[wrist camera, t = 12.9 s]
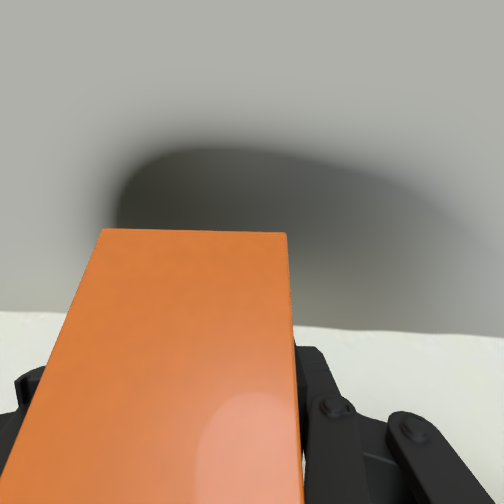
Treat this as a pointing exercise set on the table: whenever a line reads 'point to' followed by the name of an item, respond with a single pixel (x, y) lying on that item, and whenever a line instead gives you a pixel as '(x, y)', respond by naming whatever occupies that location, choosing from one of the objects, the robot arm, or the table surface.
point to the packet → (168, 378)
